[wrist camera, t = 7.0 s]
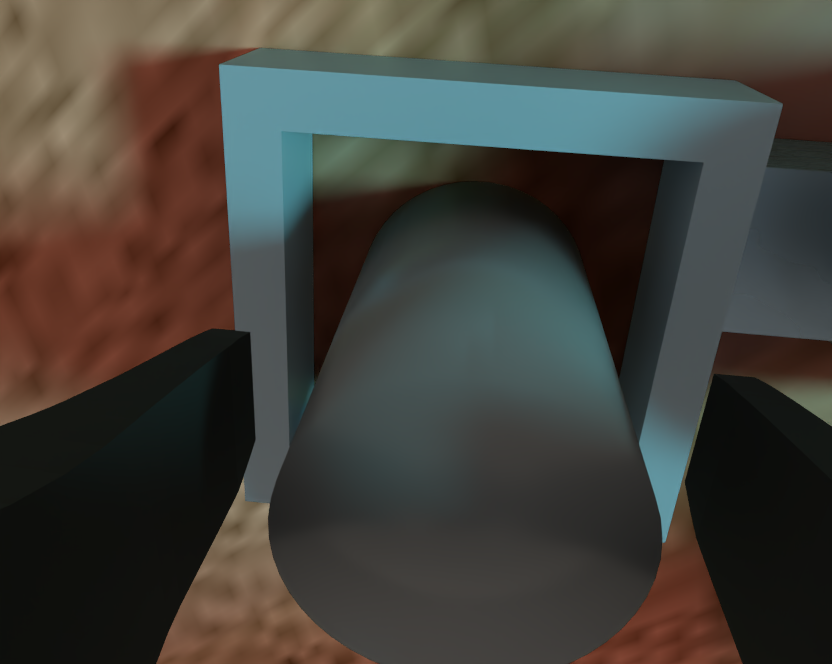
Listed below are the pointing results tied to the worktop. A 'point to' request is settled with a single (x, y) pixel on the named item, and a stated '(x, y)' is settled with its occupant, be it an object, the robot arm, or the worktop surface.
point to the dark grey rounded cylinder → (468, 449)
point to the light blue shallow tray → (507, 128)
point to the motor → (788, 248)
